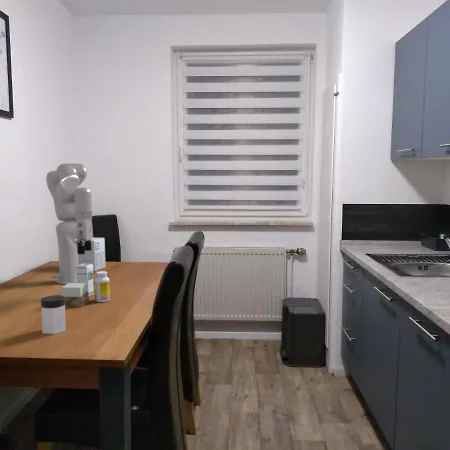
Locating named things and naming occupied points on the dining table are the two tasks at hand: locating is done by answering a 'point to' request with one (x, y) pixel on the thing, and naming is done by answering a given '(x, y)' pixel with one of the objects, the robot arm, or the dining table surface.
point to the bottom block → (77, 300)
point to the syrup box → (86, 276)
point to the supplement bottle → (102, 287)
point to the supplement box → (94, 254)
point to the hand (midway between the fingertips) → (84, 252)
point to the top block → (74, 289)
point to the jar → (53, 314)
